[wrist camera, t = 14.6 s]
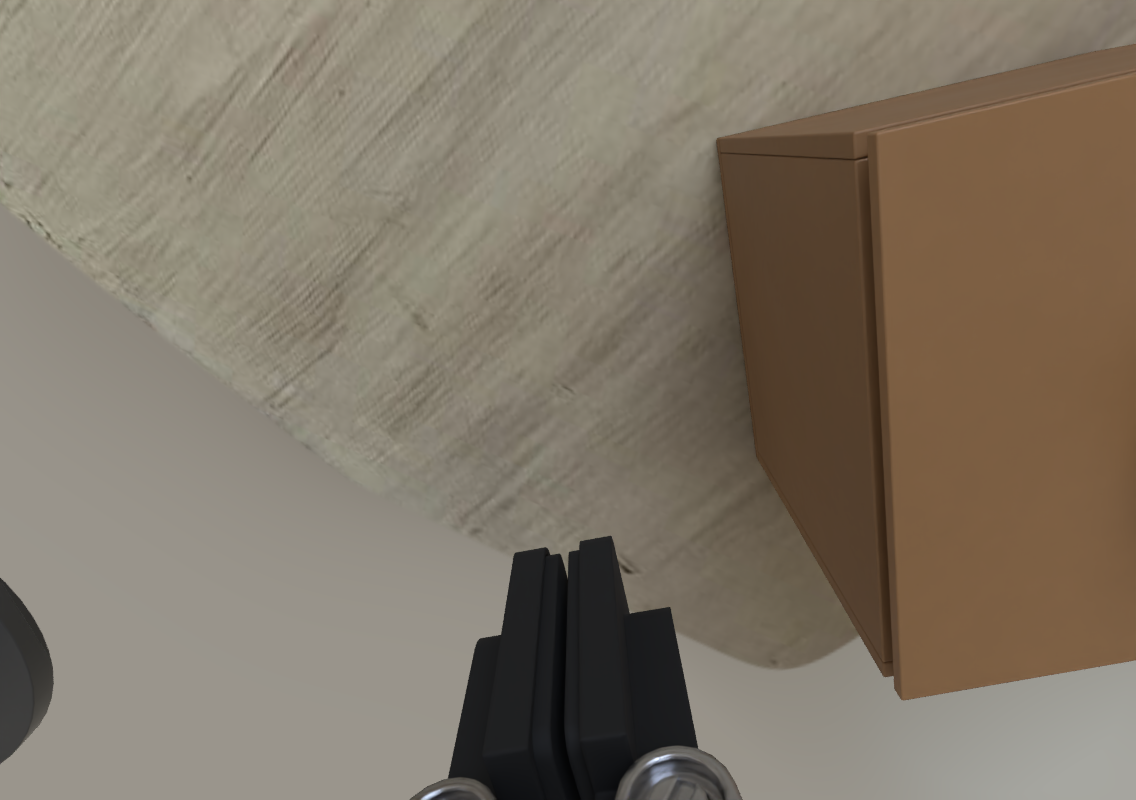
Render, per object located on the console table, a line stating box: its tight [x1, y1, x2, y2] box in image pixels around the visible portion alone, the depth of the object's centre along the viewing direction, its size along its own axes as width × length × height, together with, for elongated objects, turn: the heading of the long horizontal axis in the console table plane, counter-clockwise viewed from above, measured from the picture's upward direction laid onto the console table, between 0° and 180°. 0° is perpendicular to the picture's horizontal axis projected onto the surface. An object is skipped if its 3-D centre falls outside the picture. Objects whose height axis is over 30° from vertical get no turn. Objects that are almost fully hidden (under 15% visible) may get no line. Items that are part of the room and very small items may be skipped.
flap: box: [867, 72, 1136, 700], centre depth 13 cm, size 6×13×1 cm, turn 12°
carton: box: [716, 44, 1136, 677], centre depth 19 cm, size 13×13×12 cm
